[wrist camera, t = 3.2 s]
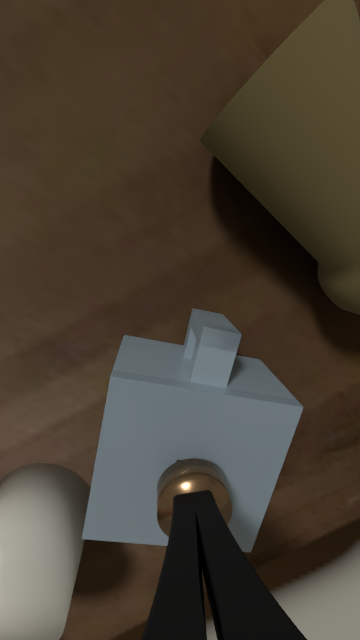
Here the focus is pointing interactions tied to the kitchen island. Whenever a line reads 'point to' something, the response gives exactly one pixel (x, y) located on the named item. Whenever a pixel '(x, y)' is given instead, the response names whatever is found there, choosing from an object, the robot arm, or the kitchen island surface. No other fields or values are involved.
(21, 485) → the white pillar candle
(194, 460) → the plunger
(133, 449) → the blue box with knob
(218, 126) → the cork
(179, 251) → the kitchen island surface
